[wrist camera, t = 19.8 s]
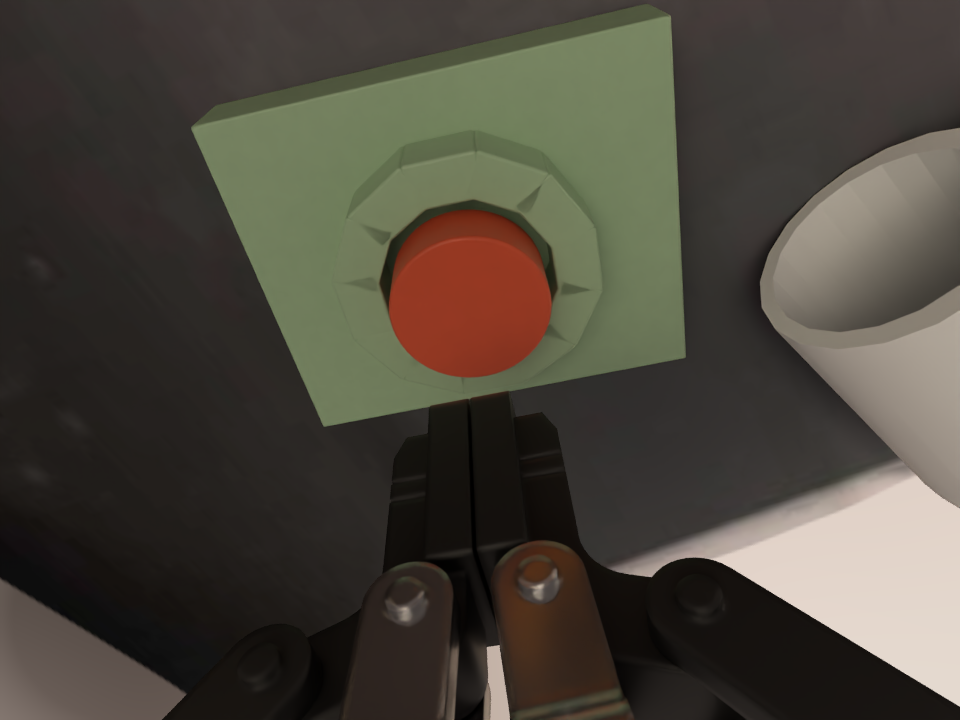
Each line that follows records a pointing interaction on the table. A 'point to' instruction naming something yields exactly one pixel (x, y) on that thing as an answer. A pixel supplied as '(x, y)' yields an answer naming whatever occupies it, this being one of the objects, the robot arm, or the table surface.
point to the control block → (465, 201)
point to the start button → (469, 294)
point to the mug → (883, 298)
